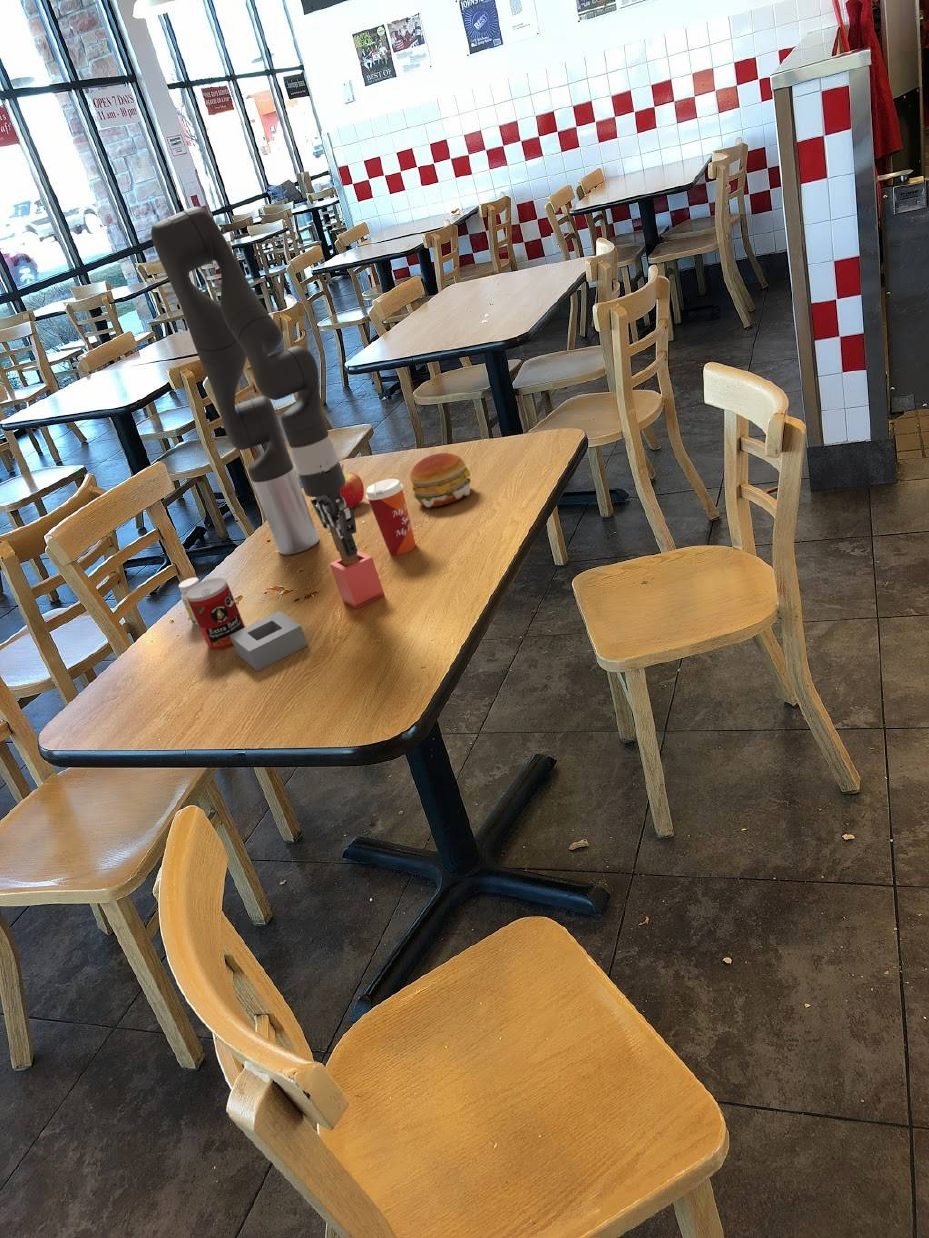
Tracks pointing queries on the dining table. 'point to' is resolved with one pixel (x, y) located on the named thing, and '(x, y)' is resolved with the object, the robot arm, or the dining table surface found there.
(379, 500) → the paper cup
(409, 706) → the dining table surface
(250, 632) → the holder
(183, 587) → the supplement bottle
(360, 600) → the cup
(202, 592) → the canned food
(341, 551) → the dowel
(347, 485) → the apple
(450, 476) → the burger
